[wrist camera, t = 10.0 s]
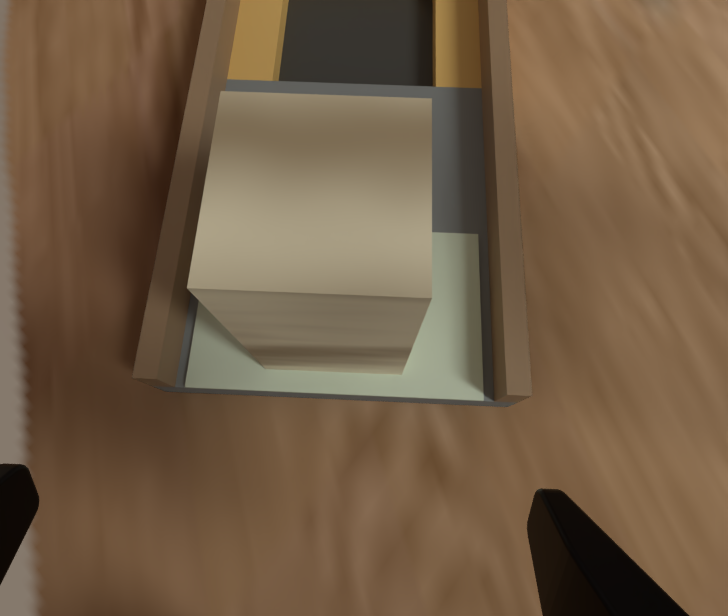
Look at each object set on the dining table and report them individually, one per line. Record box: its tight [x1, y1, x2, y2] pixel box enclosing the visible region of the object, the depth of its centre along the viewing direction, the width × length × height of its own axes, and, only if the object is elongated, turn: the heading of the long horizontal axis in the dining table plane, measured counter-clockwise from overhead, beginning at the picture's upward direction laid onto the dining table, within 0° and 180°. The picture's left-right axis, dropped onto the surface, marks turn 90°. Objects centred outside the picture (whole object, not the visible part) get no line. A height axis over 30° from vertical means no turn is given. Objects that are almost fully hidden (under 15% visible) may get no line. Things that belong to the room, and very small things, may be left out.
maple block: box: [187, 91, 432, 375], centre depth 18 cm, size 6×6×10 cm
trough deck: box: [132, 0, 532, 407], centre depth 25 cm, size 27×16×4 cm, turn 177°
